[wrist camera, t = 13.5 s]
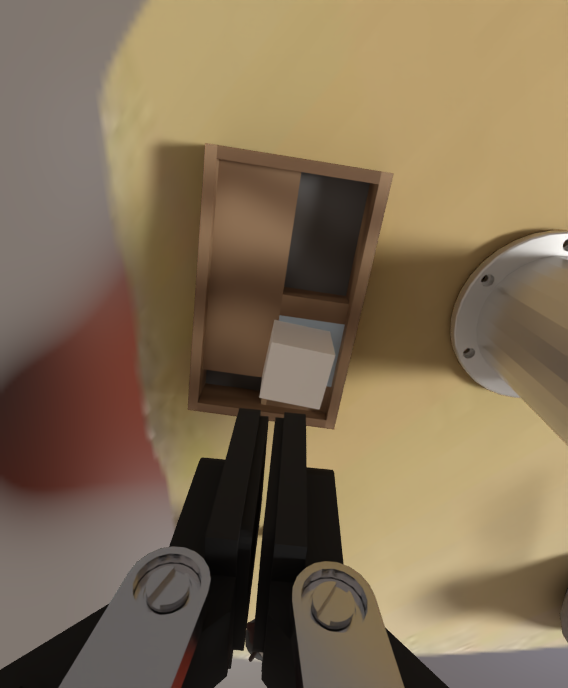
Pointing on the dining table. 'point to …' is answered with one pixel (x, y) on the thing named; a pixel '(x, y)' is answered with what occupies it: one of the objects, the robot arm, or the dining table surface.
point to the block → (297, 365)
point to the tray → (277, 269)
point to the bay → (334, 329)
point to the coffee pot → (564, 617)
